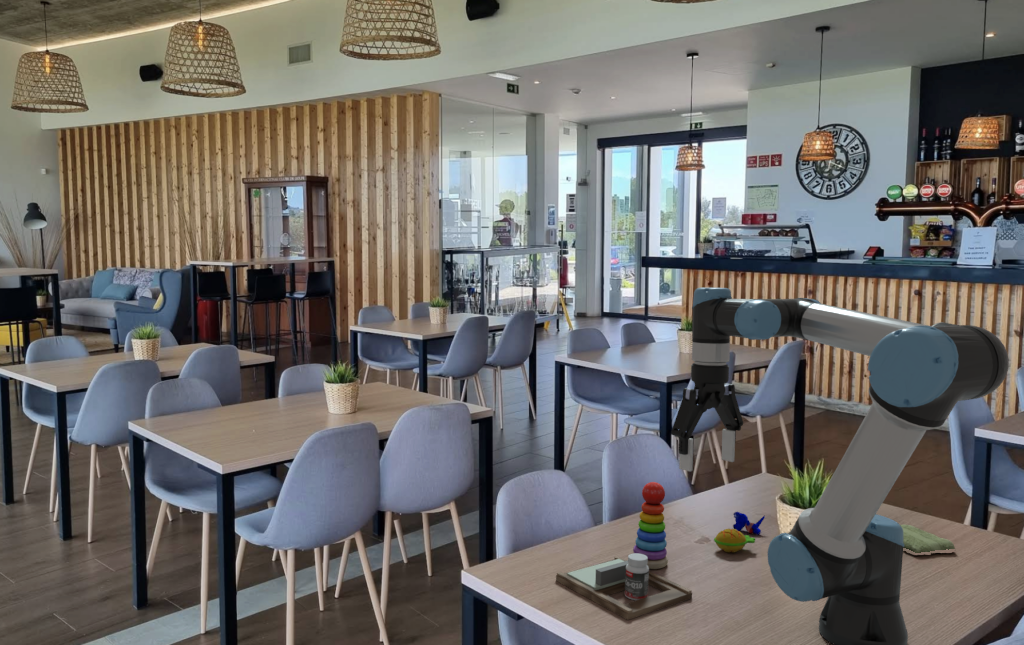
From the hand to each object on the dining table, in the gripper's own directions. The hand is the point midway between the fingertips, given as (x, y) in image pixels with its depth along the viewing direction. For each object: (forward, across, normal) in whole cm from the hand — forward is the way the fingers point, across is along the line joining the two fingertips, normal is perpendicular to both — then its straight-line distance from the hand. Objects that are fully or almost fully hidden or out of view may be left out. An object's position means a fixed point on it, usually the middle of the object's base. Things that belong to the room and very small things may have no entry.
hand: (707, 465), depth 168 cm
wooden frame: (+27, +13, -11) cm, 32 cm away
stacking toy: (+27, -2, -17) cm, 32 cm away
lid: (+25, +13, -15) cm, 32 cm away
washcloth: (+28, -66, +11) cm, 72 cm away
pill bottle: (+27, +13, -7) cm, 31 cm away
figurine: (+26, -39, -17) cm, 50 cm away
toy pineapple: (+27, -25, -11) cm, 38 cm away
